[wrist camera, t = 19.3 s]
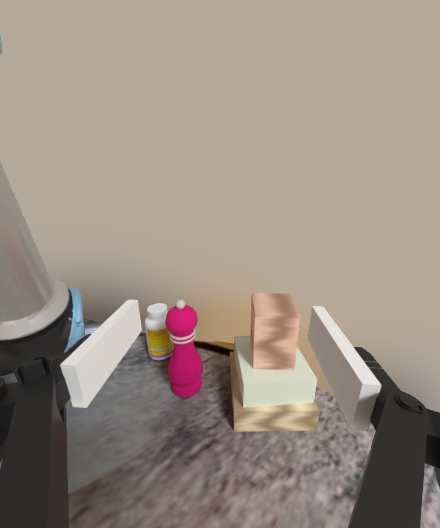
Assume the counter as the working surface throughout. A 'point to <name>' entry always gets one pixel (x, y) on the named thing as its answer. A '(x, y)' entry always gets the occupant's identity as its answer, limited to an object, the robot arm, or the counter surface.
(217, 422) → the counter surface
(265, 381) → the sage top block
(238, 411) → the oak base block
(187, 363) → the pepper mill
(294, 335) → the clay pillar block
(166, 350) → the supplement bottle
